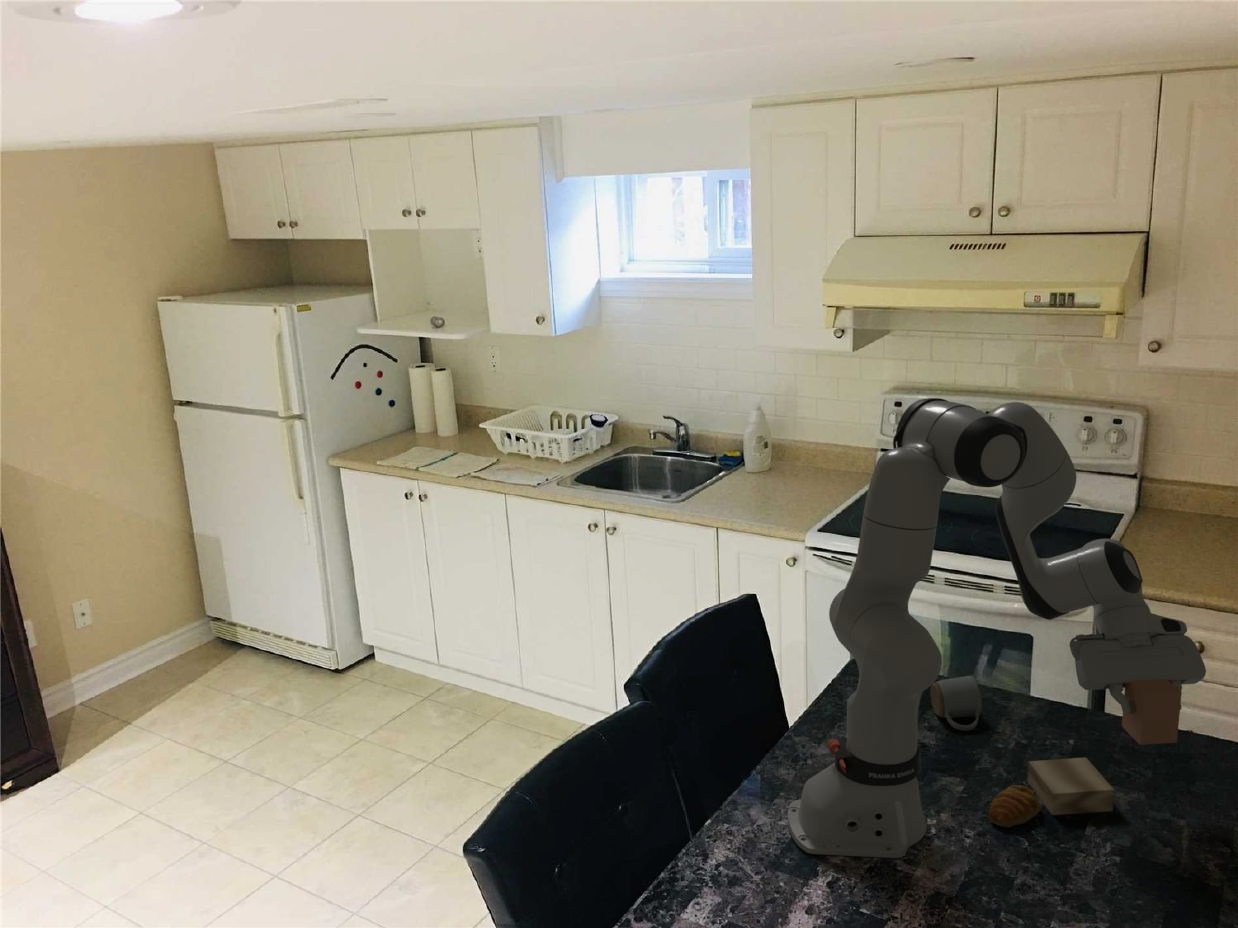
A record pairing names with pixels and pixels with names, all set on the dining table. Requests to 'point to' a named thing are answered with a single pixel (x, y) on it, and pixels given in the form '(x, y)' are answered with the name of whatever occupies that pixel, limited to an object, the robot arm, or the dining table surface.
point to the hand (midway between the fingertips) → (1153, 711)
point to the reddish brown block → (1153, 711)
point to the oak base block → (1070, 786)
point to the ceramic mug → (957, 700)
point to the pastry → (1014, 806)
